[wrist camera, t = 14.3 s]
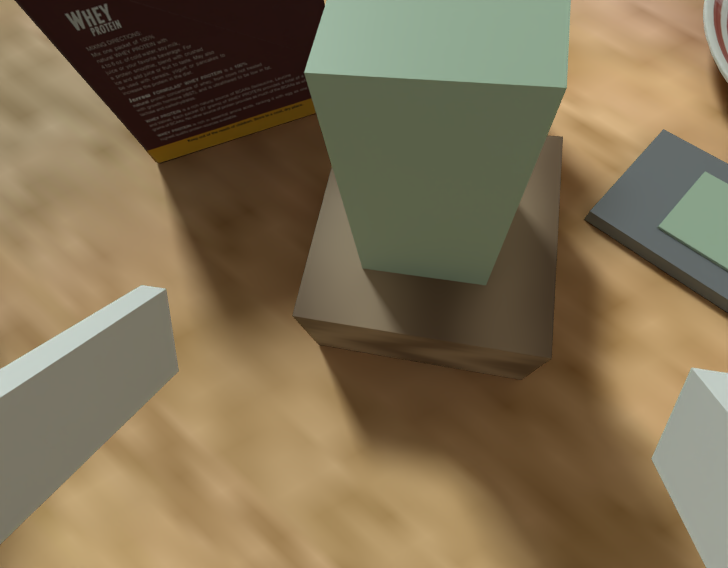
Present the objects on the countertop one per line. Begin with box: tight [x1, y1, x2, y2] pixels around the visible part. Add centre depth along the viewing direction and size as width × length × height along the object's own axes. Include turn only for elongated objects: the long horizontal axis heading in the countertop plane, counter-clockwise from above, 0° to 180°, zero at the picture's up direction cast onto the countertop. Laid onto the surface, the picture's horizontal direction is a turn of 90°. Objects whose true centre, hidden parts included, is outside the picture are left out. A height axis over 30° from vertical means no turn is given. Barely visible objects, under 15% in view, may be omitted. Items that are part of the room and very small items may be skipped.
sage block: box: [304, 0, 571, 285], centre depth 17 cm, size 6×6×12 cm
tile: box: [584, 129, 728, 313], centre depth 26 cm, size 12×8×1 cm, turn 46°
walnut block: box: [292, 136, 563, 380], centre depth 25 cm, size 12×12×6 cm
